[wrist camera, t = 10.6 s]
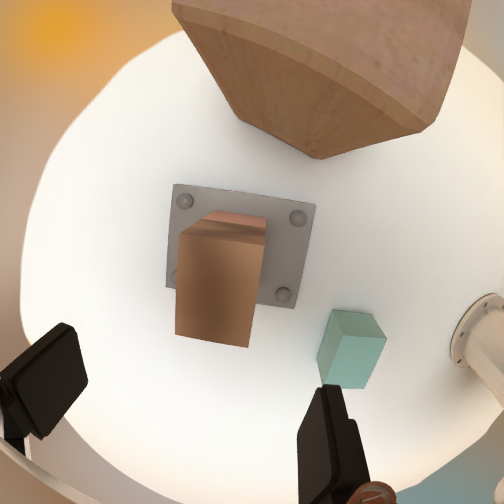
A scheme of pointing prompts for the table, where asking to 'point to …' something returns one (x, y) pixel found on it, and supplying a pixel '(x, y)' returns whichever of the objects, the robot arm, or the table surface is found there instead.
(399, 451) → the table surface
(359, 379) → the teal brick
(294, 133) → the block
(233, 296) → the walnut brick
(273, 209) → the baseplate
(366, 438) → the table surface
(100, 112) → the table surface
